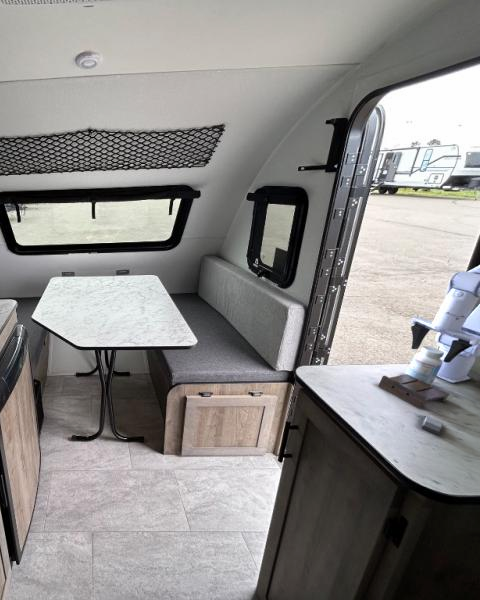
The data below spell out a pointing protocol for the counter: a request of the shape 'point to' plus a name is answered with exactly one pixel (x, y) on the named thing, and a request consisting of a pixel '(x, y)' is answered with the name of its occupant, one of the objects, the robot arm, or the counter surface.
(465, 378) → the robot arm
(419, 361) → the pill bottle
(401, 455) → the counter surface
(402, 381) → the brown slab
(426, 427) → the grey faceted block
